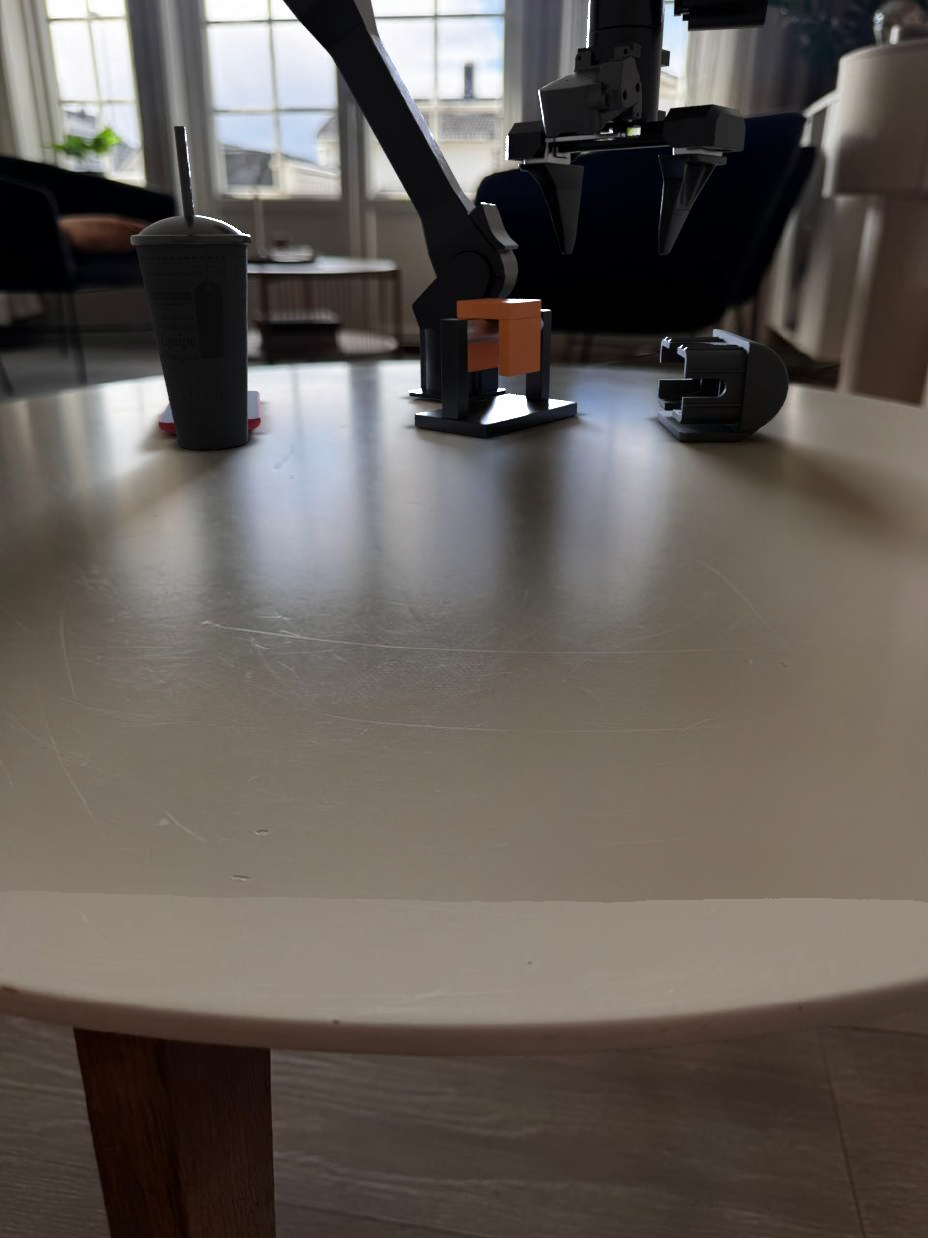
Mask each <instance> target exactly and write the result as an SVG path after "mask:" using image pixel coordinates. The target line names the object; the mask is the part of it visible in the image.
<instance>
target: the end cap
mask: <svg viewBox="0 0 928 1238" xmlns="http://www.w3.org/2000/svg"><path fill="white" fill-rule="evenodd" d="M659 352H660V354H659V363H661V364H674V363H675V364H678V363H679V364H681V363H683V364H684V371H683V378H658V381H657V395H656V400H657V404H658V405H659V406H660V407H661V410H658V411H657V413H656V414H657V415H656V416H657V417H656V419H657V421H659V422H660V423H661V424H662V425H663V426H664V427H665V428H666V429H667V430H668V431H669V432H670V433H671V434H672V435H673V436H674V437H675V438H676V439H677V440H678V441H681V442H689V443H697V442H699V443H701V442H702V443H705V442H709V443H711V442H714V443H715V442H716V443H717V442H719V443H720V442H725V443H727V442H730V443H731V442H737V441H738V442H739V441H741V440H745V439H747V438H749V437H750V436H752V435H753V434H754V433H756V432H757V431H759V430H760V429H762V428H763V427H764V426H766V425H767V424H769V423H770V422H772V420H773V419H774V418H776V416H777V415H778V414H779V413H780V411H781V410H782V408H783V407H784V404H785V402H786V400H787V396H788V392H789V385H790V384H789V383H790V378H789V373H788V372H789V371H788V369H787V367H786V364H785V362H784V360H783V359H782V357H781V356H780V355H779V354H778V353H777V352H776V351H775V350H774V349H772V348H770V347H769V346H767V345H765V344H763V343H760V342H757V341H754V340H753V339H749V338H746V337H743V336H741V335H738V334H735V333H733V332H729V331H727V330H724V329H718V328H713V331H712V336H666V337H665V338H662V339H661V342H660V351H659ZM662 409H663V410H662Z"/></svg>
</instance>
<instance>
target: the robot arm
mask: <svg viewBox="0 0 928 1238" xmlns="http://www.w3.org/2000/svg"><path fill="white" fill-rule="evenodd" d="M282 2H283V3H284V4H285V5H286V6H287V8H288V9H289V10H290V12H291V13H292V14H293V15H294V17H295V18H296V19H297V21H299V23H300V24H301V25H302V26H303V27H304V28H305V29H306V31H308V32H309V34H310V35H311V36H312V37H313V38H314V39H315V40H316V41H317V42H318V44H320V46H321V47H322V48H323V49H324V50H325V51H326V52H327V54H328V55H329V56H330V57H331V59H332V60H333V62H334V64H335V66H336V67H337V70H338V72H339V73H340V75H341V76H342V79H343V80H344V82H345V84H346V86H347V88H348V89H349V92H350V93H351V95H352V97H353V98H354V100H355V102H356V104H357V106H358V107H359V110H360V111H361V113H362V115H363V116H364V119H365V120H366V122H367V123H368V126H369V127H370V130H371V131H372V133H373V135H374V136H375V138H376V140H377V142H378V144H379V145H380V148H381V149H382V151H383V153H384V155H385V157H386V159H387V160H388V162H389V164H390V165H391V167H392V169H393V171H394V173H395V174H396V177H397V178H398V180H399V182H400V184H401V185H402V187H403V189H404V191H405V193H406V195H407V196H408V198H409V200H410V202H411V203H412V205H413V207H414V209H415V210H416V213H417V215H418V217H419V219H420V225H421V227H422V232H423V237H424V242H425V247H426V251H427V255H428V258H429V261H430V263H431V266H432V269H433V272H434V275H435V279H434V280H433V281H432V282H431V283H430V284H429V285H428V286H427V287H426V288H425V290H424V291H423V292H422V293H421V294H420V295H419V296H418V297H417V298H416V299H415V301H413V302H412V304H411V309H412V312H413V314H414V318H415V320H416V323H417V326H418V330H419V331H418V332H419V333H418V334H419V366H420V367H419V369H420V371H419V372H420V388H419V389H412V390H408V392H409V393H408V395H409V397H412V398H419V399H420V398H421V399H427V400H435V401H442V378H441V319H450V318H453V319H457V318H458V317H457V301H463V300H474V299H486V298H496V299H507V297H509V295H511V293H512V291H513V290H514V288H515V286H516V283H517V279H518V275H519V264H518V261H517V257H516V255H515V253H514V252H513V250H517V249H519V244H518V243H517V242H516V241H514V240H513V239H512V238H511V237H510V235H509V234H508V232H507V231H506V228H505V226H504V223H503V219H502V217H501V214H500V211H499V210H498V207H497V205H496V204H492V203H486V202H479V203H478V204H477V205H475V204H474V203H473V201H471V200H470V199H469V197H468V196H467V195H466V193H464V191H463V189H462V188H461V186H460V184H459V182H458V180H457V178H456V177H455V175H454V173H453V171H452V169H451V167H450V165H449V163H448V162H447V160H446V157H445V156H444V154H443V152H442V151H441V148H440V147H439V145H438V142H437V141H436V138H435V137H434V136H433V134H432V131H431V130H430V128H429V126H428V124H427V122H426V120H425V119H424V117H423V115H422V114H421V111H420V110H419V109H420V108H418V106H417V104H416V102H415V100H414V99H413V97H412V95H411V92H410V91H409V89H408V87H407V85H406V84H405V83H406V82H405V81H404V80H403V78H402V76H401V74H400V72H399V70H398V69H397V66H396V64H395V63H394V60H393V59H392V57H391V55H390V53H389V52H388V50H387V48H386V47H385V44H384V42H383V41H382V39H381V36H380V34H379V30H378V26H377V21H376V16H375V12H374V8H373V3H372V0H282ZM768 5H769V0H673V17H681V16H682V17H681V18H682V19H681V20H682V22H687V32H702V31H704V32H705V31H724V30H742V29H743V30H744V29H761V28H762V29H763V28H764V27H765V24H766V19H767V11H768ZM665 12H666V0H588V15H587V17H588V19H587V36H586V37H587V38H586V41H587V42H586V47H585V46H584V47H580V48H577V53H576V54H575V58H574V69H573V72H572V73H570V74H566V75H564V76H562V77H559V78H558V79H555V80H554V81H552V82H549V83H548V84H546V85H545V86H543V87H540V88H538V96H539V102H540V109H541V115H542V120H531V121H521V122H520V121H519V122H514V123H513V125H512V126H511V128H510V130H509V132H508V133H507V136H506V139H505V140H506V141H505V143H506V145H505V146H506V148H505V149H506V151H505V160H506V161H514V162H522V163H518V168H519V170H520V172H526V173H529V174H530V176H531V177H532V178H533V179H534V181H535V182H536V183H537V184H538V186H539V188H540V189H541V192H542V194H543V197H544V199H545V202H546V205H547V208H548V210H549V213H550V218H551V221H552V225H553V228H554V232H555V235H556V238H557V241H558V245H559V248H560V251H561V254H562V255H572V253H573V251H574V247H575V243H576V238H577V232H578V231H577V230H578V223H579V222H578V221H579V215H580V205H581V197H582V189H583V178H584V172H585V171H584V170H585V166H584V165H578V164H577V165H576V164H571V163H572V162H575V161H576V160H577V159H578V157H579V156H580V155H581V153H590V152H592V153H593V152H603V151H604V152H606V151H621V150H633V149H649V148H651V149H652V148H665V147H669V148H670V149H672V153H671V154H659V155H658V156H657V157H658V158H657V159H658V162H659V166H660V170H661V174H662V179H663V185H662V195H661V203H660V215H659V224H658V233H657V235H658V236H657V238H658V240H657V242H658V243H657V244H658V245H657V247H658V254H659V256H668V255H669V254H671V250H672V249H673V246H674V244H675V243H676V240H677V239H678V237H679V234H680V232H681V230H682V228H683V226H684V223H685V221H686V219H687V217H688V215H689V213H690V211H691V210H692V207H693V205H694V203H695V202H696V200H697V198H698V196H699V194H700V193H701V191H702V189H703V188H704V186H705V185H706V183H707V181H708V180H709V178H710V176H711V174H712V173H713V172H714V170H715V168H716V167H717V166H724V165H726V164H727V157H726V156H723V153H731V152H732V153H735V152H736V153H738V152H743V151H744V148H745V137H746V128H747V126H746V122H745V119H744V116H743V114H742V113H741V111H740V110H739V109H737V108H733V107H727V106H722V105H719V104H714V103H711V104H699V105H688V106H687V105H686V106H678V107H670V108H669V109H668V112H667V110H660V109H659V105H660V104H659V103H660V91H661V89H660V88H661V74H662V68H667V67H670V61H671V50H668V49H663V44H664V43H663V42H664V30H665V29H664V28H665V14H666V13H665ZM630 129H631V130H632V129H640V130H639V134H632V135H629V130H630ZM610 131H612V132H610ZM506 392H507V389H506V388H502V387H501V388H500V387H499V367H497V368H491V369H485V370H479V371H473V372H468V403H470V402H475V401H479V400H484V399H489V398H493V397H498V396H503V395H507V393H506Z"/></svg>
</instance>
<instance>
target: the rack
mask: <svg viewBox="0 0 928 1238" xmlns="http://www.w3.org/2000/svg"><path fill="white" fill-rule="evenodd" d="M552 311H553V310H552V309H541V337H540V371H536V372H531V373H526V374H525V395H519V394H517V395H516V394H511V393H508V394H504V395H499V396H494V397H490V398H485V399H480V400H475V401H471V402H468V344H469V343H476V342H483V341H491V340H498V339H499V320H495V319H478V320H469V321H468V320H467V319H453V318H450V319H441V378H442V400H441V408H436V409H433V410H427V411H423V412H419V413H415V414H414V427H415V428H420V429H425V430H431V431H438V432H445V433H451V434H456V435H464V436H470V437H475V438H483V439H488V438H492V437H496V436H500V435H504V434H507V433H511V432H515V431H519V430H522V429H526V428H531V427H535V426H538V425H543V424H546V423H550V422H553V421H557V420H562V419H565V418H568V417H573V416H577V415H578V402H576V401H569V400H559V399H552V398H550V381H551V379H550V378H551V349H552V347H551V346H552Z"/></svg>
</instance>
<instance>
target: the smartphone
mask: <svg viewBox="0 0 928 1238" xmlns="http://www.w3.org/2000/svg"><path fill="white" fill-rule="evenodd" d="M261 422H262V413H261V394H260V392H259V391H258V390H248V430H255V429H257V428H258V427H259V426H260V425H261ZM158 427H159V429H160V430H161V431H162V432H164V433H165V434H169V435H176V431H175V426H174V421H173V417H172V412H171V407H170V403H169V402H168V405H167V406H166V408H165V410H164V412H163V413H162V415H161V417H160V419H159V421H158Z"/></svg>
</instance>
